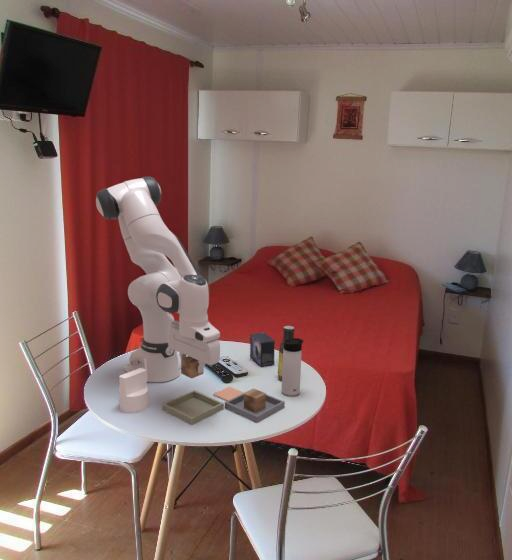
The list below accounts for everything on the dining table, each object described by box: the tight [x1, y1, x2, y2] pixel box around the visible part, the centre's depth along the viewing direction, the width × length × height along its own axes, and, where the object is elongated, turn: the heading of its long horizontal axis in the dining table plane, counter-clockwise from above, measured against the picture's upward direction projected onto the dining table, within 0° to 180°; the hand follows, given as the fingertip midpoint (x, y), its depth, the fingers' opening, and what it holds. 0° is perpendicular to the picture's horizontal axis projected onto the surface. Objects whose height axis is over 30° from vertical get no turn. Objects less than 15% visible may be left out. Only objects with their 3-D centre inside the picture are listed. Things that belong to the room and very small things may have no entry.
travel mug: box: [281, 337, 304, 398], centre depth 179 cm, size 6×7×20 cm
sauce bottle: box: [277, 325, 295, 381], centre depth 191 cm, size 6×6×20 cm
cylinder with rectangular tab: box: [118, 368, 149, 414], centre depth 167 cm, size 9×9×12 cm
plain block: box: [244, 388, 267, 413], centre depth 169 cm, size 5×5×5 cm
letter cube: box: [180, 355, 205, 379], centre depth 164 cm, size 5×5×5 cm
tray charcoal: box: [224, 388, 286, 424], centre depth 169 cm, size 14×14×2 cm
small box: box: [249, 332, 276, 368], centre depth 207 cm, size 11×6×10 cm, turn 25°
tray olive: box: [162, 390, 225, 426], centre depth 167 cm, size 14×14×2 cm
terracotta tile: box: [212, 386, 245, 402], centre depth 178 cm, size 8×8×1 cm
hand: (192, 368), depth 165 cm, fingers closed on letter cube, 5 cm apart
